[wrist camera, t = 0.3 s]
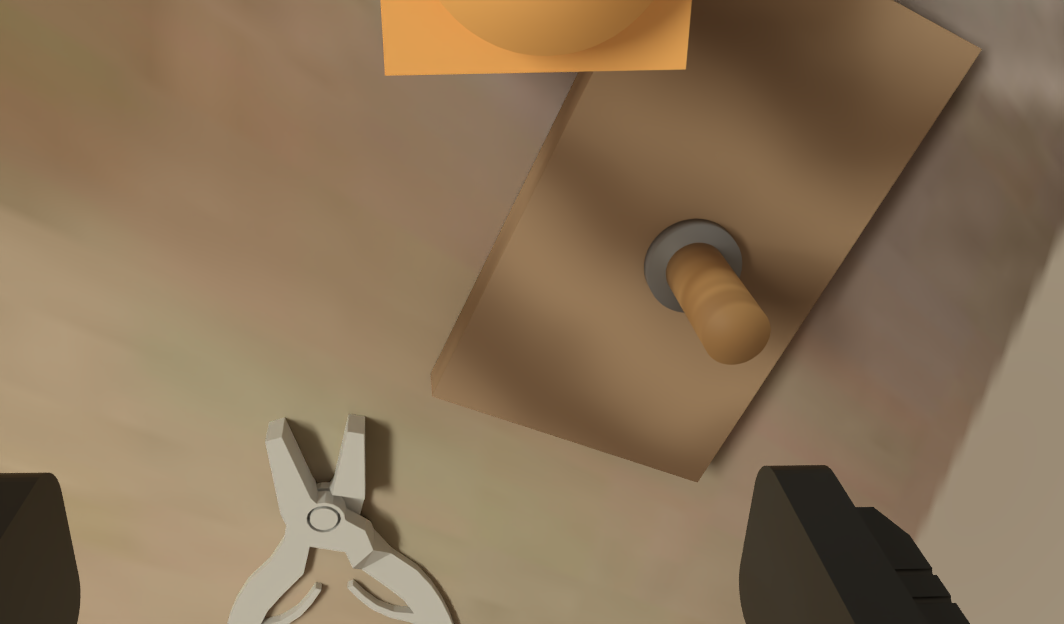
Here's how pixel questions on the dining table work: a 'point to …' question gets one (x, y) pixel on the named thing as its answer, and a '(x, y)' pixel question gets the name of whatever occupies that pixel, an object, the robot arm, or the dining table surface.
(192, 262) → the dining table surface
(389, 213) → the dining table surface
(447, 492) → the dining table surface
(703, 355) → the board
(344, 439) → the pliers
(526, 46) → the orange toy brick
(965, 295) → the dining table surface
